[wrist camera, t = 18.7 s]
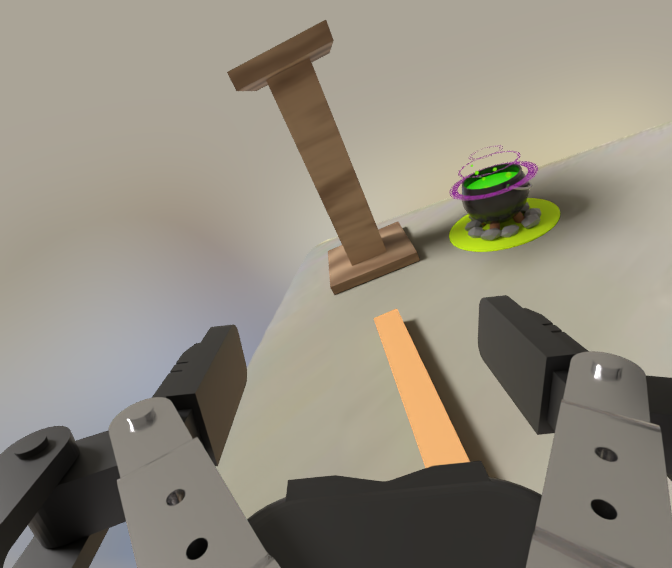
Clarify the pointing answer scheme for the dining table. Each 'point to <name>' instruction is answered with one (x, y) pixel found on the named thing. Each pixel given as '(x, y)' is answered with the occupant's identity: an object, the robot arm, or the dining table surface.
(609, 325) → the dining table surface
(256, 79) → the shelf stand
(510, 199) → the toy cauldron
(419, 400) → the handle bar
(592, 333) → the dining table surface
